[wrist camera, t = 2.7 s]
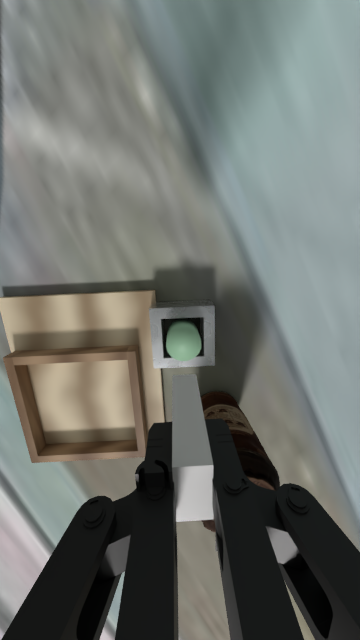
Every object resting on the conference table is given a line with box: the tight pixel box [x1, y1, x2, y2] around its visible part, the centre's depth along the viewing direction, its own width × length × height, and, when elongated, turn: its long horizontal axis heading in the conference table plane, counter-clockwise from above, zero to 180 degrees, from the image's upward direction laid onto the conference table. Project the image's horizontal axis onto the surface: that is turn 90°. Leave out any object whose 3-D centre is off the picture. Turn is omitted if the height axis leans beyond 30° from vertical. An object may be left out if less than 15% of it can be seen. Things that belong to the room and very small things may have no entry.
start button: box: [166, 319, 201, 361], centre depth 25 cm, size 4×4×4 cm
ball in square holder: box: [149, 300, 215, 368], centre depth 27 cm, size 7×7×4 cm
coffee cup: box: [200, 392, 280, 532], centre depth 26 cm, size 9×8×13 cm
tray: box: [0, 290, 165, 463], centre depth 29 cm, size 18×22×3 cm
